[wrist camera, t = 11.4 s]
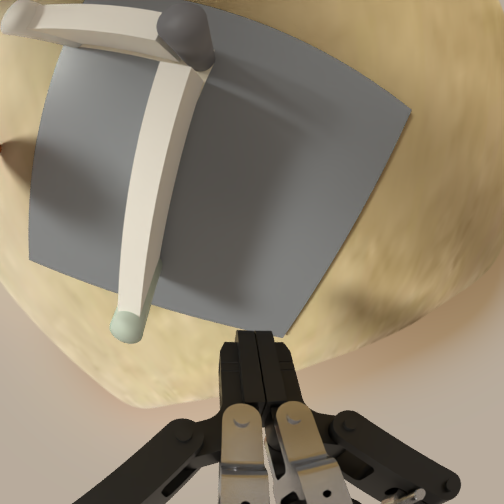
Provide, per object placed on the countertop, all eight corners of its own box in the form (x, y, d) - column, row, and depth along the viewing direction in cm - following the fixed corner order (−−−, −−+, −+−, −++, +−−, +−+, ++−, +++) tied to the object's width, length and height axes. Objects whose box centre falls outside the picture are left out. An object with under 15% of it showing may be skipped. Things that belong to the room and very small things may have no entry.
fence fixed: (64, 46, 11) (-15, 34, 4) (74, 22, 10) (1, -3, 3) (207, 76, 14) (193, 52, 7) (220, 50, 13) (217, 6, 6)
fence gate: (178, 75, 13) (148, 57, 7) (208, 82, 13) (198, 66, 8) (136, 271, 19) (110, 338, 13) (160, 276, 19) (141, 346, 14)
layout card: (32, 256, 18) (28, 260, 18) (93, -8, 9) (89, -11, 9) (281, 333, 25) (282, 338, 24) (406, 109, 16) (412, 109, 15)
